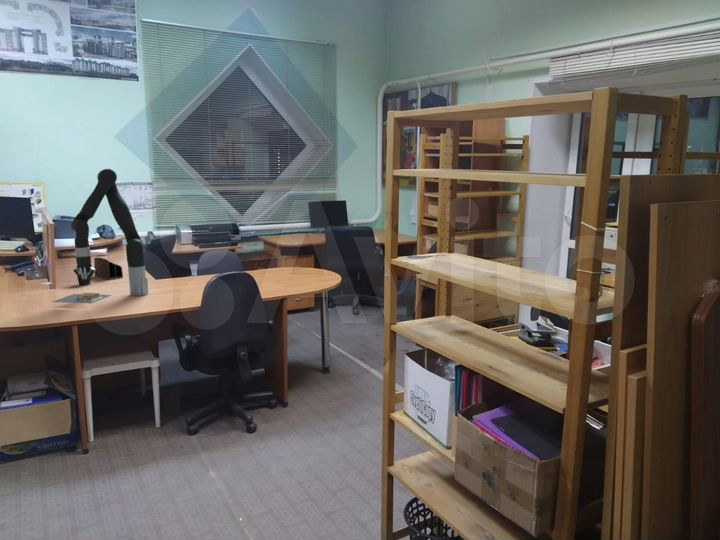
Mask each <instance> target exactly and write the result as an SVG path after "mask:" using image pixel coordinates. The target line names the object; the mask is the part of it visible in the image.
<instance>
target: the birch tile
mask: <svg viewBox="0 0 720 540" xmlns="http://www.w3.org/2000/svg"><path fill="white" fill-rule="evenodd" d="M79 294H80V295H77V300H94V299H97V298H99V295H100V293H98V292H82V293H79Z"/></svg>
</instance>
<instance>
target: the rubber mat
mask: <svg viewBox="0 0 720 540" xmlns="http://www.w3.org/2000/svg"><path fill="white" fill-rule="evenodd" d="M80 294H81V293H73V294H70V295H67V296H64V297H62V298H58V299H55V300H53V301H51V303H63V304H64V303H65V304H67V303H69V304H95V302H98V301H101V300H104V299H106V298H109V297H110V296H112V295H111V294H99V298H97V299H94V300H77V295H80Z"/></svg>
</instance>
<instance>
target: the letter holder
mask: <svg viewBox="0 0 720 540" xmlns="http://www.w3.org/2000/svg"><path fill="white" fill-rule="evenodd" d="M93 265H94V267H93V268H94V269H96V271H97V275H96V272H95V273H94V276H95V275H96V276H95V277H97V278H101V279H104V280H108V281H110V280H117V278H118V279H123V278H124V275H123V267H122V266H121V265H119V264H116V263H114V262H112V261H110V260H108V259H105V258H103V257H94V258H93Z"/></svg>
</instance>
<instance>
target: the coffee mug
mask: <svg viewBox="0 0 720 540" xmlns="http://www.w3.org/2000/svg"><path fill="white" fill-rule="evenodd" d="M90 272H91V270H90ZM96 275H97V271H96ZM96 275H95V274H94V275H93V276H92V277H91V278H89V285H91V280H92V279H94V278H95V277H96ZM76 276H77V275H76ZM76 278H77V282H78V286H84V284H83V279H82V278H79V277H78V276H77V277H76Z"/></svg>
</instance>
